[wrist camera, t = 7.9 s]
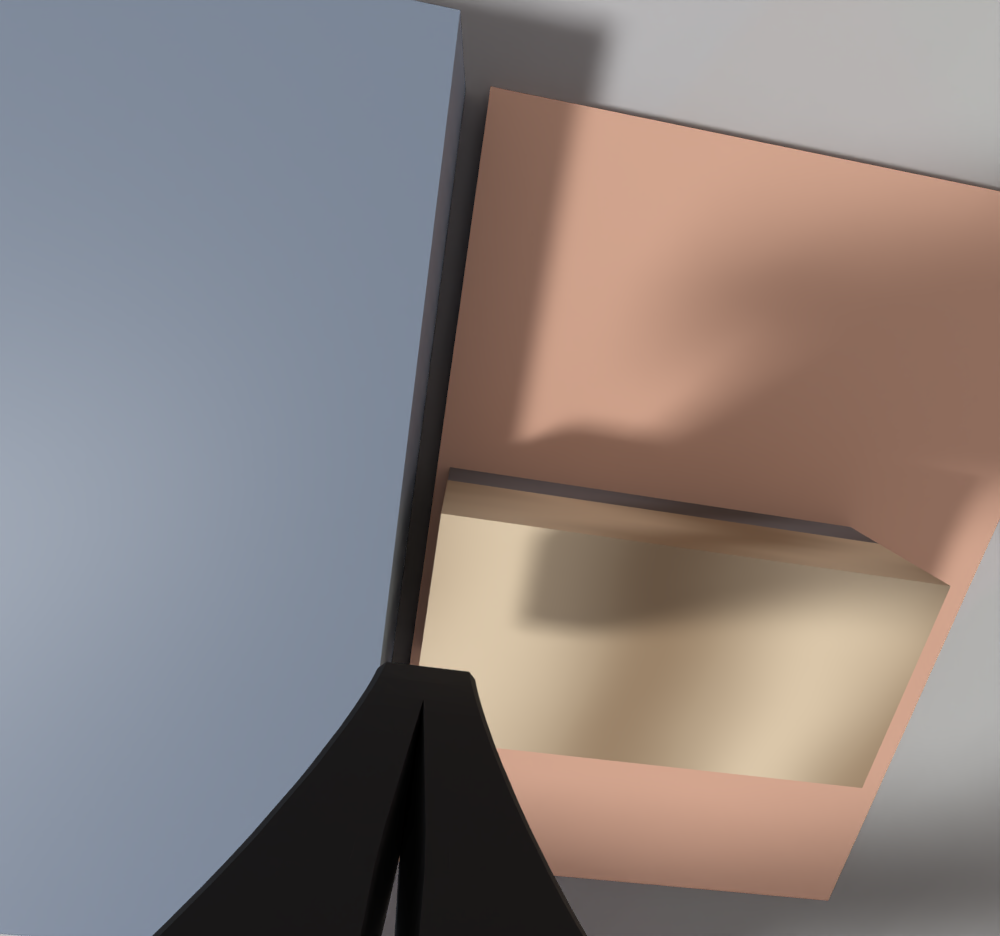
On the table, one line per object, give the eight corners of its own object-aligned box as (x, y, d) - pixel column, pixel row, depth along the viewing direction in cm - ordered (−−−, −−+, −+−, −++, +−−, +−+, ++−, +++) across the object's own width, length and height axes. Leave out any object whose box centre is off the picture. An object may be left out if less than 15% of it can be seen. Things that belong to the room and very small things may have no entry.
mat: (820, 887, 17) (828, 900, 17) (384, 847, 16) (382, 859, 16) (1113, 222, 12) (1134, 219, 12) (490, 94, 11) (490, 86, 11)
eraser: (850, 526, 13) (950, 585, 11) (788, 695, 15) (861, 787, 12) (450, 467, 13) (440, 513, 10) (423, 650, 14) (408, 738, 11)
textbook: (367, 845, 16) (343, 960, 13) (-173, 795, 15) (-325, 909, 12) (465, 89, 11) (460, 9, 8) (-365, -81, 10) (-720, -245, 7)
